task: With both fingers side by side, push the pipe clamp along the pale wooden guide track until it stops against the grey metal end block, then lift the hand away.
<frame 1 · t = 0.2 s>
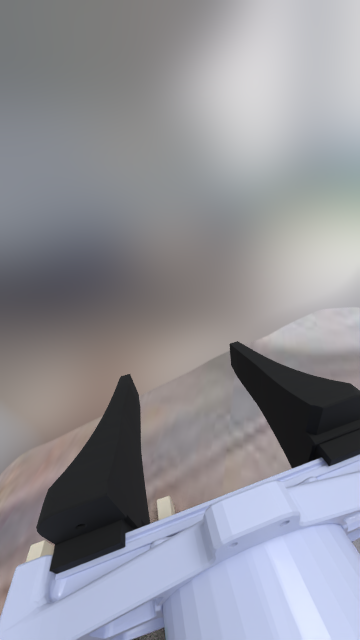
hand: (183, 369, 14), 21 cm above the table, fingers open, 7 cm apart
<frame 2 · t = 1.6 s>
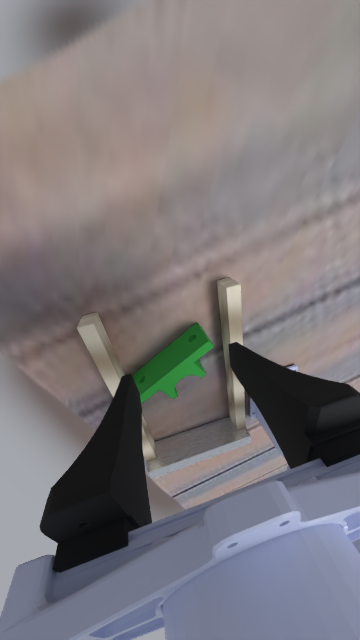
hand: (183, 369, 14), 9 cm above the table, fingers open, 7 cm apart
pipe clamp: (171, 355, 26), on the table
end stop: (193, 432, 33), on the table
guide rails: (179, 376, 27), on the table
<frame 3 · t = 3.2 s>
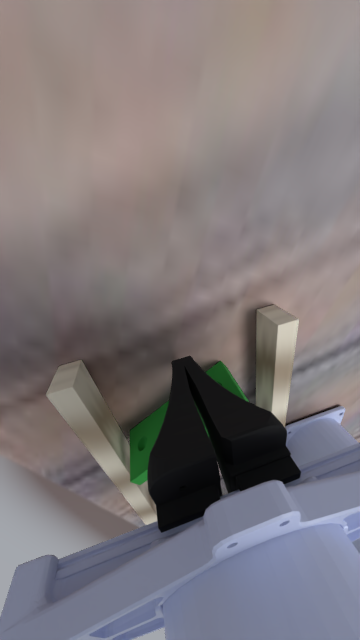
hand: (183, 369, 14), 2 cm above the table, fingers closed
pipe clamp: (182, 402, 18), on the table
guide rails: (196, 430, 20), on the table
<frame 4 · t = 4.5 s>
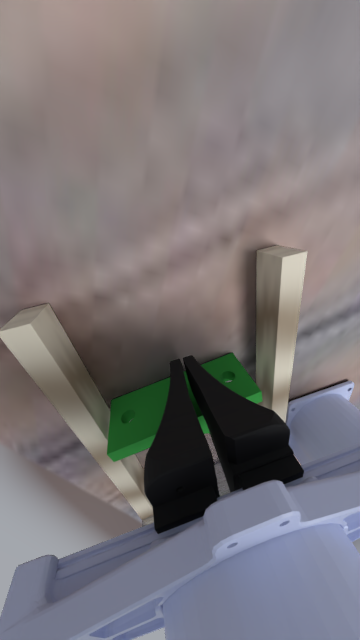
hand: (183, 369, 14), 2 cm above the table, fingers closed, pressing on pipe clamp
pipe clamp: (177, 387, 17), on the table, touching gripper
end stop: (206, 471, 25), on the table
guide rails: (190, 402, 18), on the table
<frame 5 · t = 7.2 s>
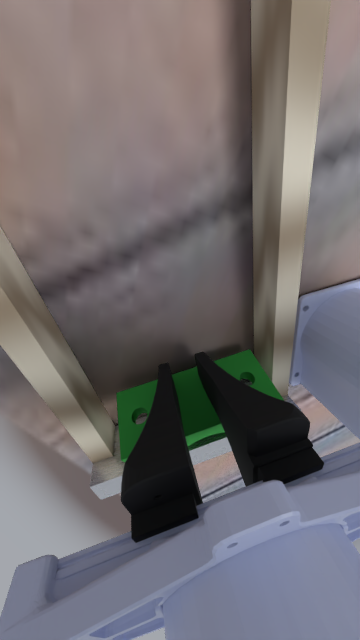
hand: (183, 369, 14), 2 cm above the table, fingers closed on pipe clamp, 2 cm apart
pipe clamp: (185, 378, 16), on the table, touching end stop, gripper
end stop: (189, 408, 18), on the table
guide rails: (153, 270, 12), on the table
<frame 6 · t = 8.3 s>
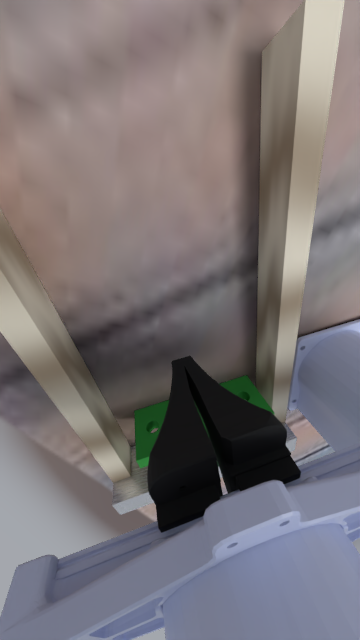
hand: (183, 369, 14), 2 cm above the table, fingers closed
pipe clamp: (193, 401, 19), on the table
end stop: (196, 431, 20), on the table
guide rails: (171, 323, 14), on the table
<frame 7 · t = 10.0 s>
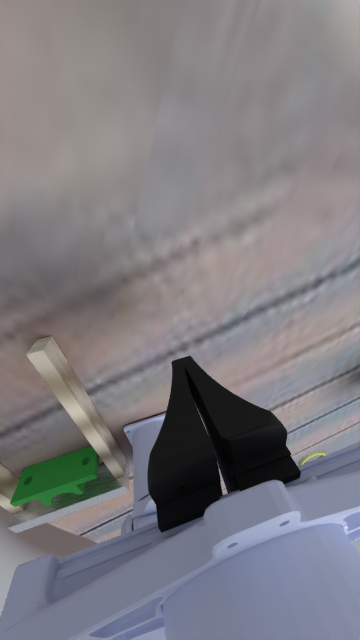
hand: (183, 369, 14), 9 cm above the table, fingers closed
pipe clamp: (66, 459, 30), on the table
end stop: (77, 477, 32), on the table
guide rails: (33, 429, 25), on the table
key: (306, 462, 51), on the table
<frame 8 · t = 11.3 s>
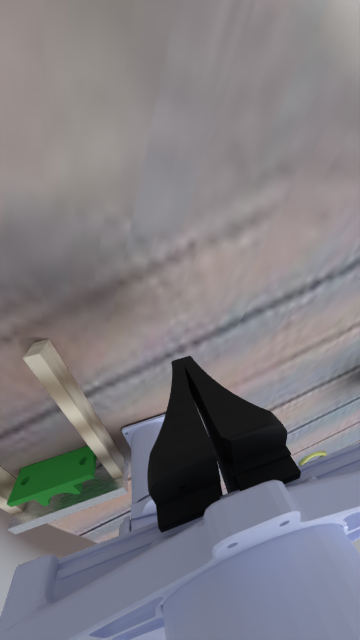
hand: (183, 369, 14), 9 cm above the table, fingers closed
pipe clamp: (64, 459, 30), on the table
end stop: (76, 478, 32), on the table
guide rails: (31, 431, 26), on the table
key: (308, 461, 52), on the table
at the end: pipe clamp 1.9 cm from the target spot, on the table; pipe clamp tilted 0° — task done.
